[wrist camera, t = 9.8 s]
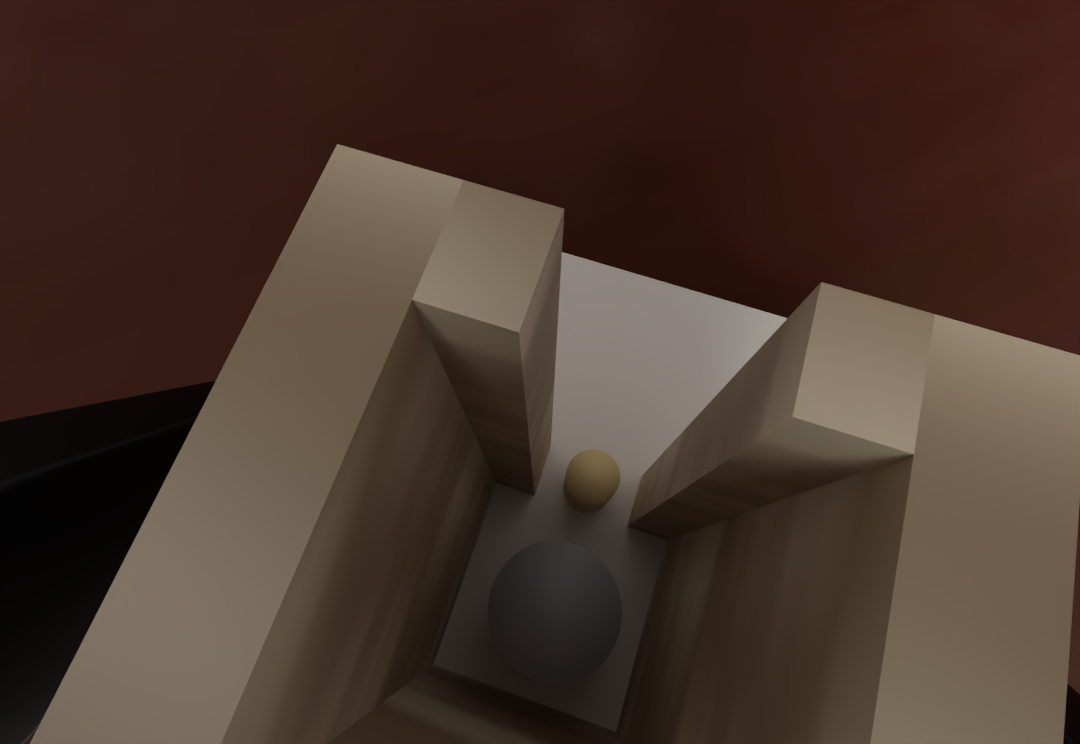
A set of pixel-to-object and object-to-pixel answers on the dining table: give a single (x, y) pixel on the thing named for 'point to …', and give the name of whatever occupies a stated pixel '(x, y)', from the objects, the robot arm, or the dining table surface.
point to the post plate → (593, 491)
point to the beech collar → (659, 509)
